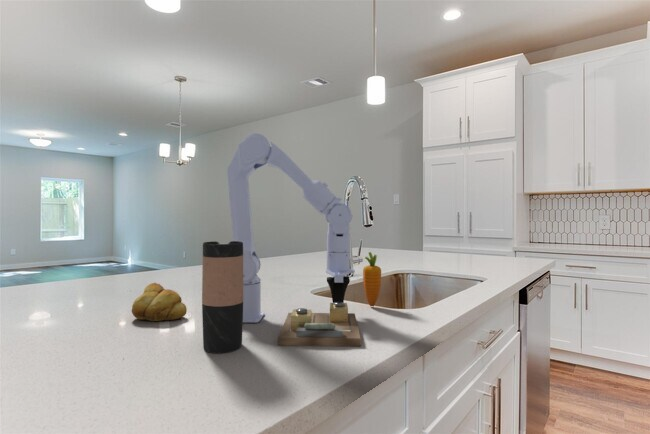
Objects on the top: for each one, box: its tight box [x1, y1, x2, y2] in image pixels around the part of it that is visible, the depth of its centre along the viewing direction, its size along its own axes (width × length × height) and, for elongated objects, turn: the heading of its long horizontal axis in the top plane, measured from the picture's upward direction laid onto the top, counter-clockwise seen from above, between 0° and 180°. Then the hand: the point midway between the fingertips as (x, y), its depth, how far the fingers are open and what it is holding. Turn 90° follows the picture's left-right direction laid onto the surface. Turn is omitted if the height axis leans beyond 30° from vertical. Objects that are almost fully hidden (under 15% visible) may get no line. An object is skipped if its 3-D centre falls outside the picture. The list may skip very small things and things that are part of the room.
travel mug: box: [201, 240, 244, 354], centre depth 71 cm, size 8×8×20 cm
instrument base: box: [277, 312, 362, 347], centre depth 81 cm, size 16×18×4 cm
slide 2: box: [329, 302, 349, 322], centre depth 85 cm, size 4×5×4 cm
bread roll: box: [131, 282, 188, 322], centre depth 90 cm, size 13×10×8 cm
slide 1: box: [291, 307, 313, 330], centre depth 79 cm, size 4×5×4 cm
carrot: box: [362, 251, 382, 307], centre depth 102 cm, size 5×5×15 cm
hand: (337, 306), depth 92 cm, fingers closed
